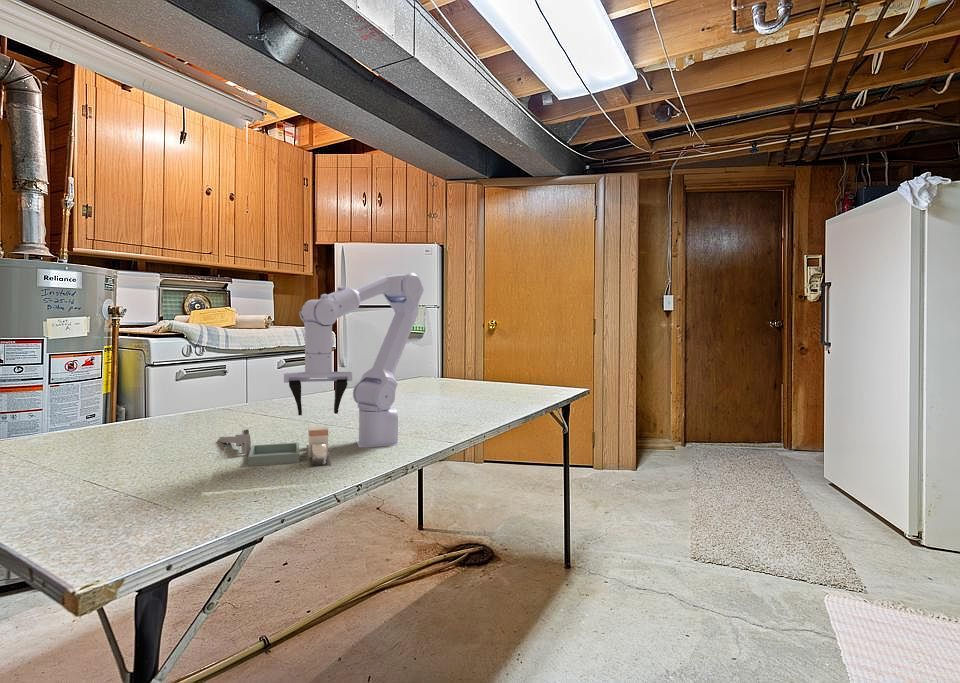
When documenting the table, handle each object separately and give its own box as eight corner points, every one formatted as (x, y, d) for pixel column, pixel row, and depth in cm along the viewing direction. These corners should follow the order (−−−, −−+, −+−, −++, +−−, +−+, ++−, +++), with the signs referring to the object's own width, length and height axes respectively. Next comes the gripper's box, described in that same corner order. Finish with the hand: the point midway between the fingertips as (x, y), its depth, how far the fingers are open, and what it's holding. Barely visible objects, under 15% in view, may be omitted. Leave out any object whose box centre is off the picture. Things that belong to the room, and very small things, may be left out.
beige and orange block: (327, 451, 119) (327, 425, 119) (328, 456, 115) (328, 429, 115) (308, 452, 117) (308, 426, 117) (308, 457, 114) (308, 430, 113)
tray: (299, 452, 120) (299, 442, 119) (299, 464, 110) (299, 453, 110) (251, 455, 116) (251, 445, 116) (248, 467, 107) (248, 456, 107)
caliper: (251, 458, 115) (251, 430, 115) (246, 458, 114) (246, 430, 114) (222, 441, 130) (222, 416, 130) (217, 441, 129) (217, 416, 129)
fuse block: (325, 445, 126) (325, 427, 126) (331, 467, 108) (331, 446, 108) (306, 447, 124) (306, 428, 124) (308, 469, 107) (309, 447, 106)
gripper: (349, 351, 121) (349, 409, 122) (283, 352, 116) (283, 411, 117) (353, 354, 115) (352, 414, 115) (283, 354, 110) (283, 417, 110)
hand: (318, 413), depth 116 cm, fingers open, 7 cm apart
